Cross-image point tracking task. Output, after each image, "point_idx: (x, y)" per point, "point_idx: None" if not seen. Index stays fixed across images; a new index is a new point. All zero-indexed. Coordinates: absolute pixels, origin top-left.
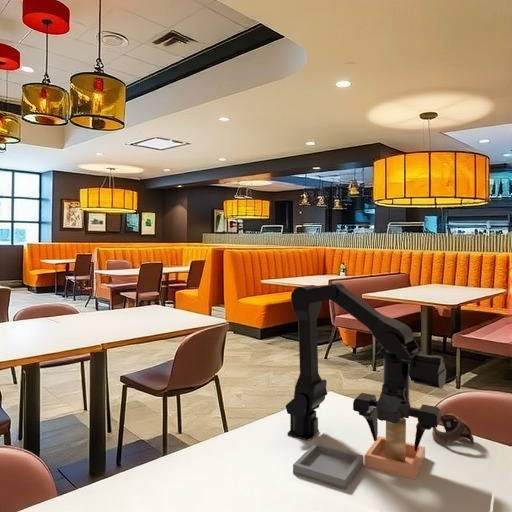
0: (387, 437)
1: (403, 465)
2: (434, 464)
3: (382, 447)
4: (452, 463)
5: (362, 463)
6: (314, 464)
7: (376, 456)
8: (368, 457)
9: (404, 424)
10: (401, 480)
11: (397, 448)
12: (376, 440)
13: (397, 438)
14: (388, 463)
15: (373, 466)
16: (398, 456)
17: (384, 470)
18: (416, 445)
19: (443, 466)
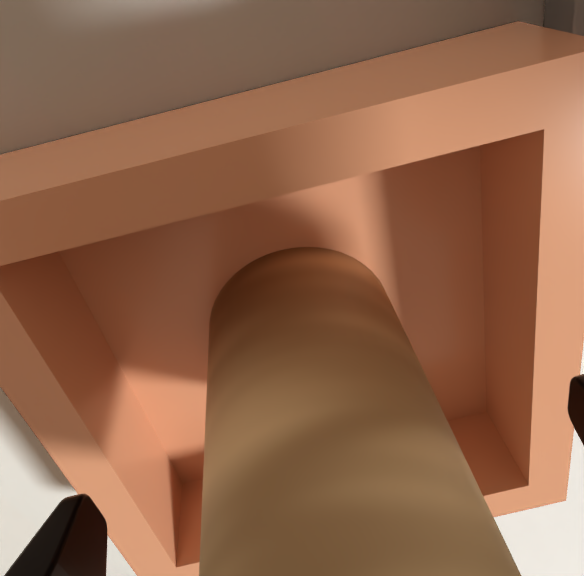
0: (439, 476)
1: (45, 186)
2: (73, 489)
3: (482, 421)
4: (7, 562)
5: (569, 10)
6: None
7: (447, 123)
8: (543, 51)
9: None
10: (71, 76)
11: (249, 398)
12: (569, 397)
13: (258, 535)
14: (252, 125)
15: (429, 53)
16: (236, 336)
17: (292, 84)
18: (28, 567)
19: (14, 506)
